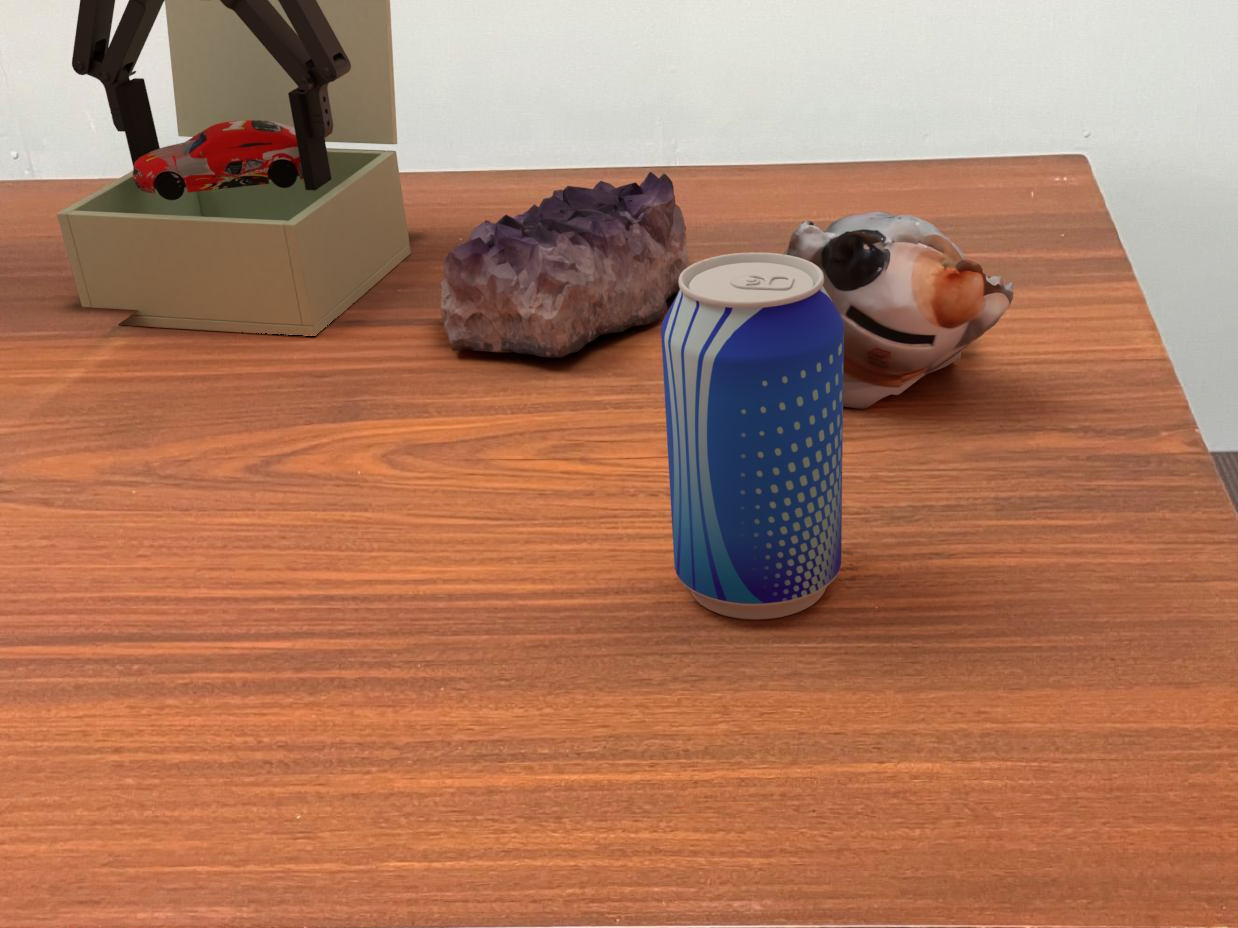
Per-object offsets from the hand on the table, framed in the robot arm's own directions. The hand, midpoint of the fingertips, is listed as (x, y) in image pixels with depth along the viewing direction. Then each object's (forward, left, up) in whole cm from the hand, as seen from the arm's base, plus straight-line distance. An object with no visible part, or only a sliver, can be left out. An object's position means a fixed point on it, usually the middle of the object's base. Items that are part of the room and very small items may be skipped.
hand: (234, 181), depth 115 cm
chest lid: (0, +11, +10) cm, 14 cm away
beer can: (+46, -37, -8) cm, 60 cm away
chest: (0, 0, -8) cm, 8 cm away
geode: (+26, -3, -8) cm, 27 cm away
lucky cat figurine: (+48, -10, -8) cm, 50 cm away
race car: (0, 0, 0) cm, 0 cm away
